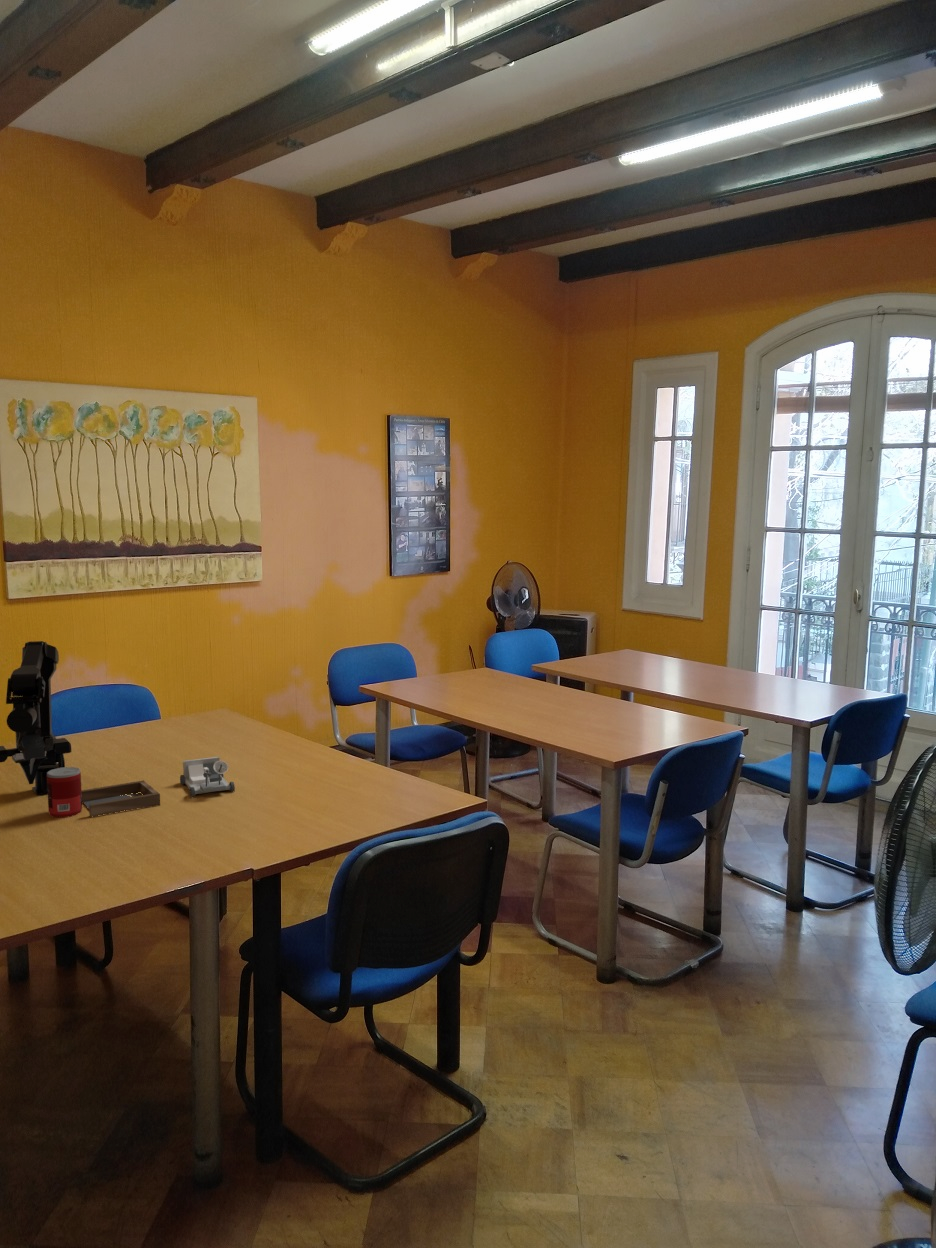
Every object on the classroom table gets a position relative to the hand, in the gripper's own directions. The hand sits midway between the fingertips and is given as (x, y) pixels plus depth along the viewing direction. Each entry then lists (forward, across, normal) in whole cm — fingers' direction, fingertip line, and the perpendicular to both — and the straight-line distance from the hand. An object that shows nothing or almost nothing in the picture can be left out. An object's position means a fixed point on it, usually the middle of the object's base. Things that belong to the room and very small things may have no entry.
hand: (31, 783), depth 237 cm
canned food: (+9, +8, 0) cm, 12 cm away
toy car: (+10, +45, 0) cm, 46 cm away
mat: (+9, +20, 0) cm, 22 cm away
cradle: (+9, +20, 0) cm, 22 cm away
